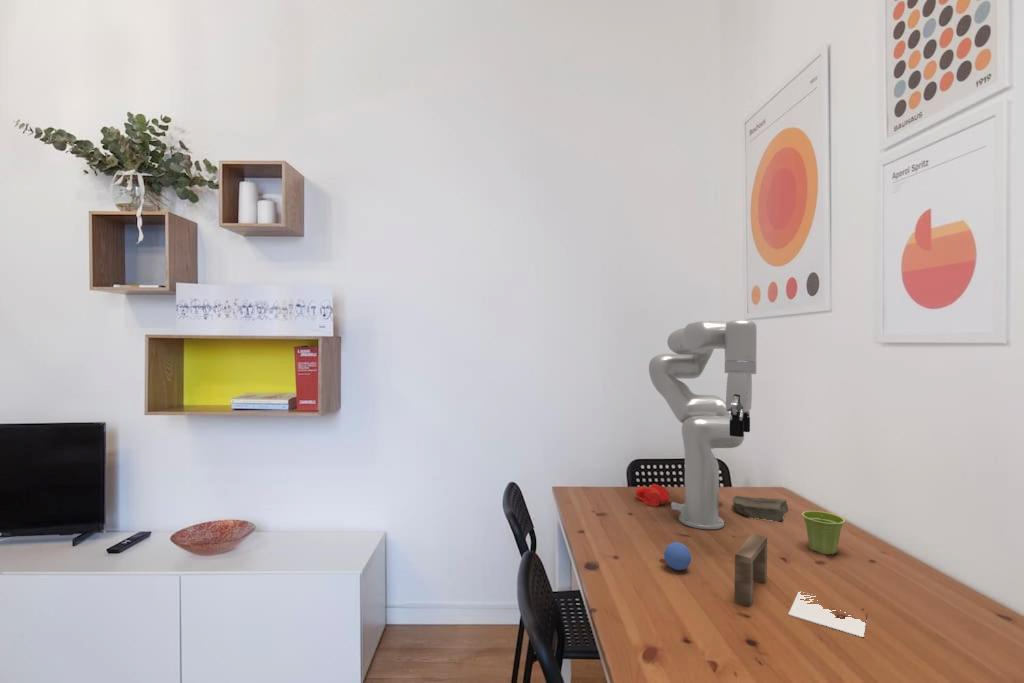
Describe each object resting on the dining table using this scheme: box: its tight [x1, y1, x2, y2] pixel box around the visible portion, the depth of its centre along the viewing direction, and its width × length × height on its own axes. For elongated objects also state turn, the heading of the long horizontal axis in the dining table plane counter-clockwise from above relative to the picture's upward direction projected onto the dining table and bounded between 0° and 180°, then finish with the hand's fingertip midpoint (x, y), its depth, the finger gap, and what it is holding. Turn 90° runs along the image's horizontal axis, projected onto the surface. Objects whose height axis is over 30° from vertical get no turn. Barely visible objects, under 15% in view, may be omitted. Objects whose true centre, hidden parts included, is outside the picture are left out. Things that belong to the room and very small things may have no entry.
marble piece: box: [732, 495, 789, 522], centre depth 158 cm, size 17×15×4 cm
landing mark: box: [788, 591, 867, 638], centre depth 98 cm, size 12×12×1 cm
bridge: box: [733, 533, 768, 607], centre depth 106 cm, size 3×15×10 cm, turn 142°
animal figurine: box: [634, 483, 671, 508], centre depth 170 cm, size 12×15×5 cm
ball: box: [663, 541, 692, 571], centre depth 116 cm, size 6×6×6 cm
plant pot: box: [801, 510, 846, 555], centre depth 129 cm, size 9×9×9 cm
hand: (740, 433), depth 129 cm, fingers open, 9 cm apart
